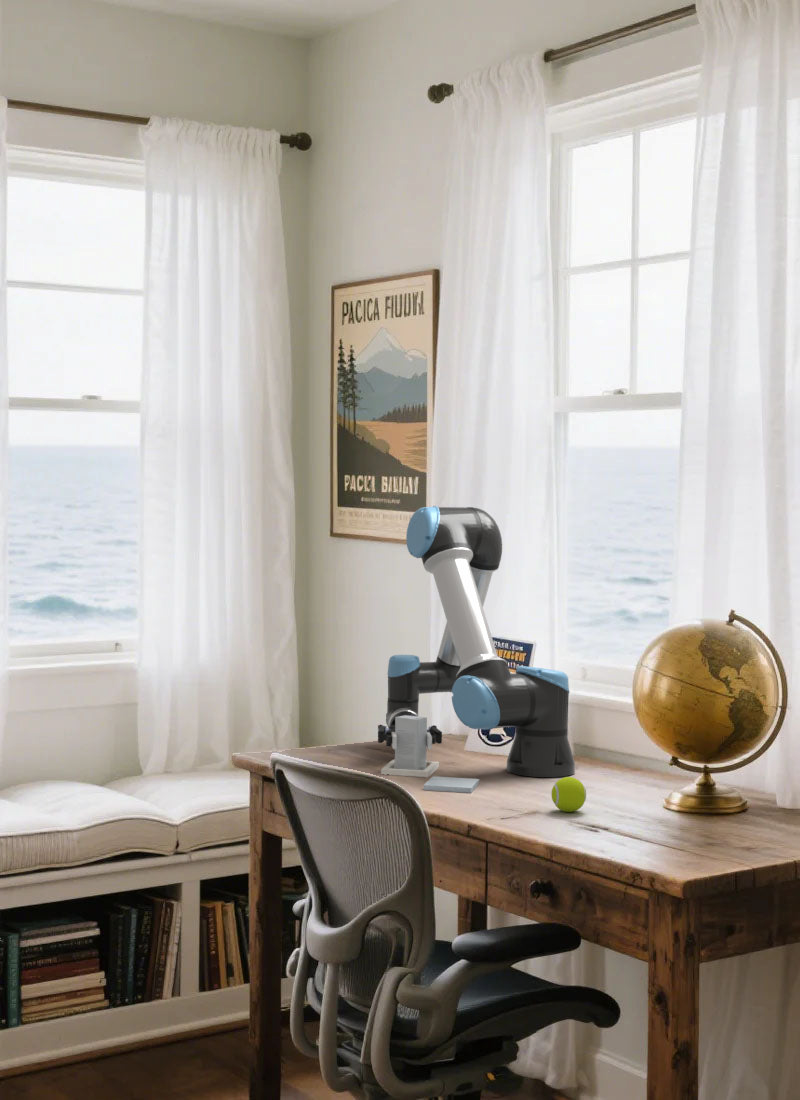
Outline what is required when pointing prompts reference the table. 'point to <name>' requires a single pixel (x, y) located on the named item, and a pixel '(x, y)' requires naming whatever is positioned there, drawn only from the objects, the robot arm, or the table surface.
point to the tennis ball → (568, 794)
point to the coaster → (451, 784)
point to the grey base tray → (405, 772)
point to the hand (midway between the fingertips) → (412, 743)
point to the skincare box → (411, 742)
